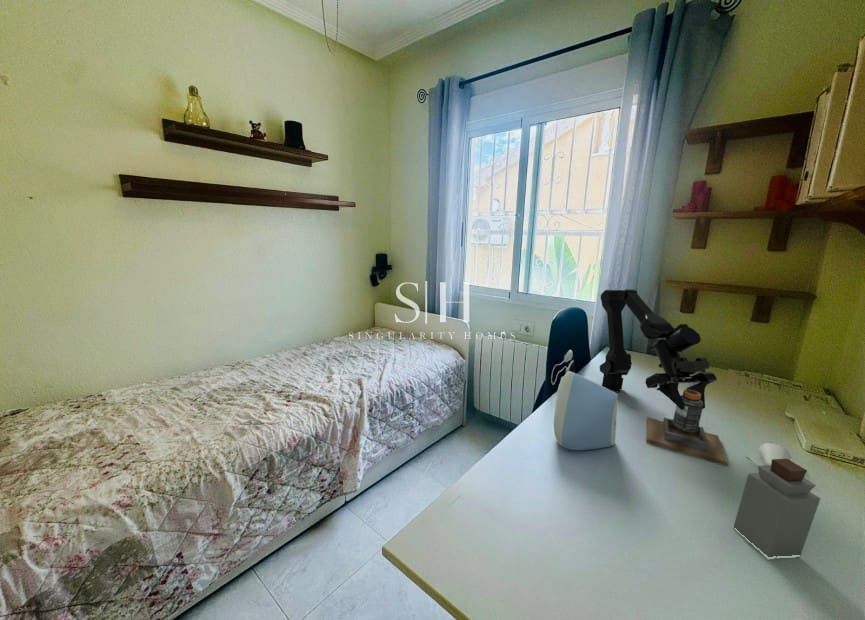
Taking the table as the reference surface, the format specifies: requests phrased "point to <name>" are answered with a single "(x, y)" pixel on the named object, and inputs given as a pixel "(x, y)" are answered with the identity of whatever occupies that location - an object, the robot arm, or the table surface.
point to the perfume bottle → (777, 508)
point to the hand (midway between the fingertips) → (693, 408)
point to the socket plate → (685, 440)
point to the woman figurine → (772, 453)
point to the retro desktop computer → (583, 411)
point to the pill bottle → (689, 411)
